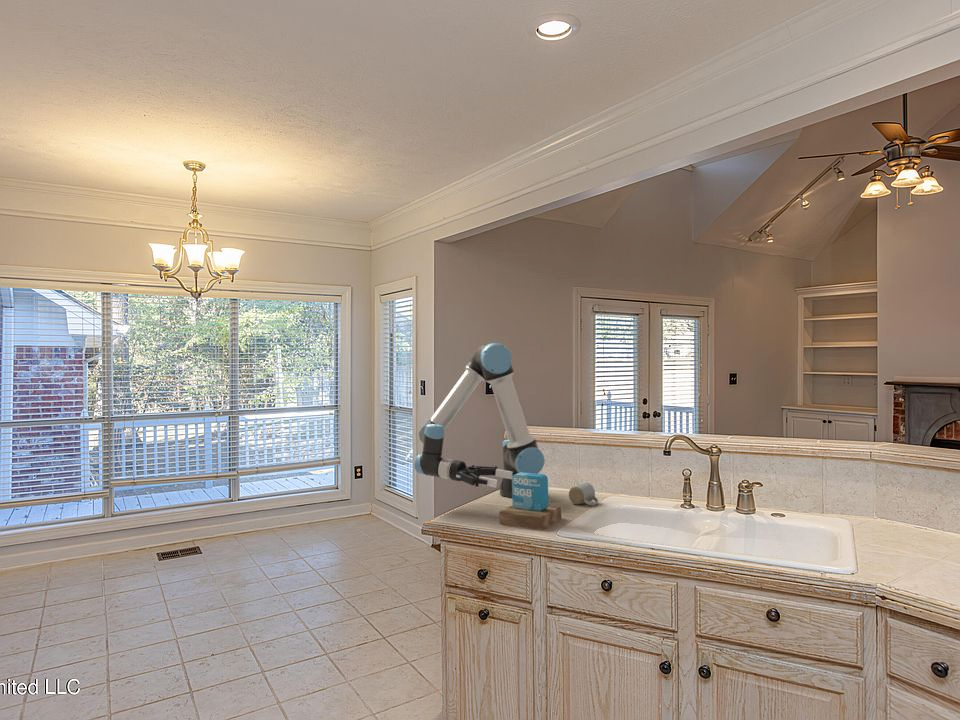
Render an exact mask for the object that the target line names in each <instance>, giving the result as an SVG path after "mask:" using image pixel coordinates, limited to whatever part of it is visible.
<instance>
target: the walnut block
mask: <svg viewBox="0 0 960 720" xmlns="http://www.w3.org/2000/svg"><path fill="white" fill-rule="evenodd" d="M498 515H499V517H498V518H499V525H500V524H502V525H501V526H508V527H509V526H510V527H514V528H515V527H516V528H522V529H529V530H537V531H543V530H545V529H547V528H548V527H550V526H552V525H554V524H555V523H557V522H558V521H560V520H561V519H562V505H554V504H549V505H548V507H547V508H546V509H544V510H542V511H533V510H524V509H516V508H515V507H514V506H513V504H512V505H509V506H508V507H506V508H504V509H502V510H500V511H499V514H498Z"/></svg>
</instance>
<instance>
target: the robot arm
mask: <svg viewBox="0 0 960 720" xmlns="http://www.w3.org/2000/svg"><path fill="white" fill-rule="evenodd" d="M512 355H513V354H512V353H511V350H509V348H508V347H507V346H506V345H504V344H502V343H499V342H491V343H486V344H482V345H481V346H479V347H478V348H477V349H476V351H475V352H474V353H473V355H472V357H471V358H470V359H469V361H468V363H467V364H466V365H465V371H464V372H463V373H462V375H461V376H460V377H459V379H458V380H457V382H456V383H455V385H454V386H453V387H452V388H451V389H450V391H449V393H448V394H447V395H446V397H445V398H444V399H443V400H442V402H441V403H440V405H439V406H438V407H437V409H436V410H435V412H433V414H432V416H431V417H430V418H429V420H428V421H427V422H426V423H425V425H424V426H422V427H421V428H420V429H419V431H418V437H419V440H420V442H421V443H422V444H423V446H422V452H421V453H419V454H418V455H417V456H416V457H415V461H414V464H413V465H414V466H413V467H414V469H415V470H414V471H416V472H417V473H418V474H422V475H425V476H431V477H435V478H441V479H444V480H445V481H446V480H451V481H456V482H463V483H466V484H469V485H470V486H474V487H479V485H480V486H484V487H490V488H493V489H494V488H497V487H498V479H495V478H490V477H489V478H488V477H484V476H495V477H498V478H502V480H501V483H500V487H499V494H500V496H502V497H505V496H506V498H512V476H513V475H515V474H517V473H520V472H523V473H535V474H540V473H541V471H542V470H543V468H544V467H545V460H546V459H545V456H544V453H543V452H542V451H541V449H539V446H538V443H537V440H536V437H535V436H533V435H531V433H530V431H529V427H528V424H527V422H526V421H527V420H526V418H525V415H524V412H523V409H522V405H521V403H520V400H519V397H518V394H517V390H516V388H515V384H514V381H513V376H514V374H515V372H514V368H513V366H512V362H513V356H512ZM483 381H485V382H486V383H488V384H490V386H491V389H492V392H493V395H494V398H495V401H496V404H497V408H498V410H499V414H500V417H501V420H502V423H503V426H504V429H505V432H506V435H507V439H505V440H503V441H502V462H503V463H502V464H503V465H502V466H503V467H502V469H500V468H498V466H497V465H495V466H484V465H474V464H473V465H471V466H467V464H466V463H465V461H462V460H457V459H452V458H447V457H442V456H443V448H444V440H445V439H444V437H445V430H446V429H447V428H448V426H449V425H450V423H452V421H453V420H454V418H455V417H456V415H457V414H458V412H459V411H461V408H462V407H463V405H464V404H466V402H467V401H468V399H469V398H470V396H471V395H472V393H473V392H474V391H475V389H477V387H478V385H479V384H480V383H481V382H483Z"/></svg>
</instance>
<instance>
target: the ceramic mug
mask: <svg viewBox="0 0 960 720" xmlns="http://www.w3.org/2000/svg"><path fill="white" fill-rule="evenodd" d="M568 498H569V500H570V502H571V503H573V504H574V505H576V506H577V505H583V504H585V505H588V506H591V507H595V506H594V505H596V504H597V505H598V503H599V500H598V498H597V496H596V491H595V488H594V486H593V485H592V484H591V483H590V482H588V481H583V482H580V483H578V484H576V485H573V486H572V487H571V488H570V489H569V491H568ZM593 501H594V502H593ZM597 505H596V506H597Z"/></svg>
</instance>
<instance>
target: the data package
mask: <svg viewBox="0 0 960 720" xmlns="http://www.w3.org/2000/svg"><path fill="white" fill-rule="evenodd" d="M511 498H512V499H511V500H512V505H513V506H514V507H515V508H516V509H524V510H533V511H542V510H544V509H546V508H547V507H548V505H550V504H549V477H548V476H547V474H543V473H538V474H535V473H523V472H520V473H517V474H515V475H513V476H512V497H511Z"/></svg>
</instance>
